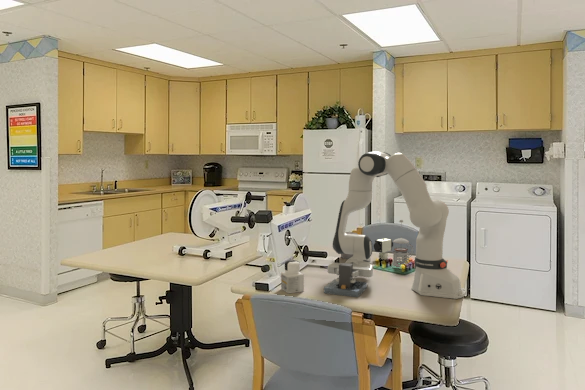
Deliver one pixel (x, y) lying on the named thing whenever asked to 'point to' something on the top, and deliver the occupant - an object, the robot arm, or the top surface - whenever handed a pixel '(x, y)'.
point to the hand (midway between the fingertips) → (345, 274)
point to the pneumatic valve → (383, 247)
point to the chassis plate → (354, 291)
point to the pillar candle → (347, 256)
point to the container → (292, 277)
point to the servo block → (345, 276)
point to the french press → (402, 250)
